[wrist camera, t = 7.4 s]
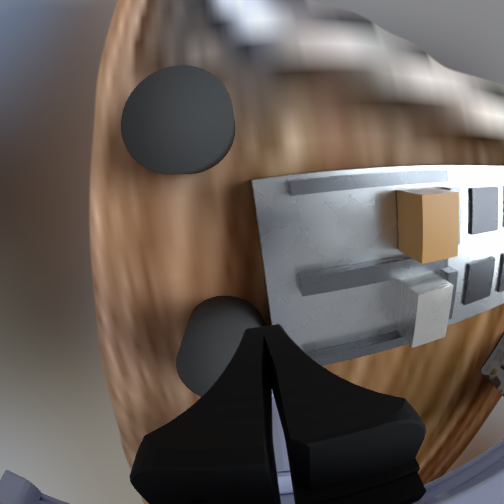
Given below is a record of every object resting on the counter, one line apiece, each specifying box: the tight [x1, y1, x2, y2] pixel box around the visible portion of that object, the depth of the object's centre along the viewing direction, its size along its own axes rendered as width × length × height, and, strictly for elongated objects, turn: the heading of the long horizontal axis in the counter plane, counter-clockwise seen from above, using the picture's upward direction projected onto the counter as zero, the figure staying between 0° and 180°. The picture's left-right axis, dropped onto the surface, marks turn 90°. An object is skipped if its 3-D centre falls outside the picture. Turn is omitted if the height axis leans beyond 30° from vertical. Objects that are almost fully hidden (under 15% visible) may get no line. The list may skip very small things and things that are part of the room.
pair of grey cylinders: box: [121, 65, 264, 397], centre depth 18 cm, size 6×21×5 cm, turn 8°
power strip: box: [251, 164, 504, 366], centre depth 18 cm, size 26×13×6 cm, turn 98°
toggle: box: [397, 188, 459, 264], centre depth 16 cm, size 3×4×3 cm
